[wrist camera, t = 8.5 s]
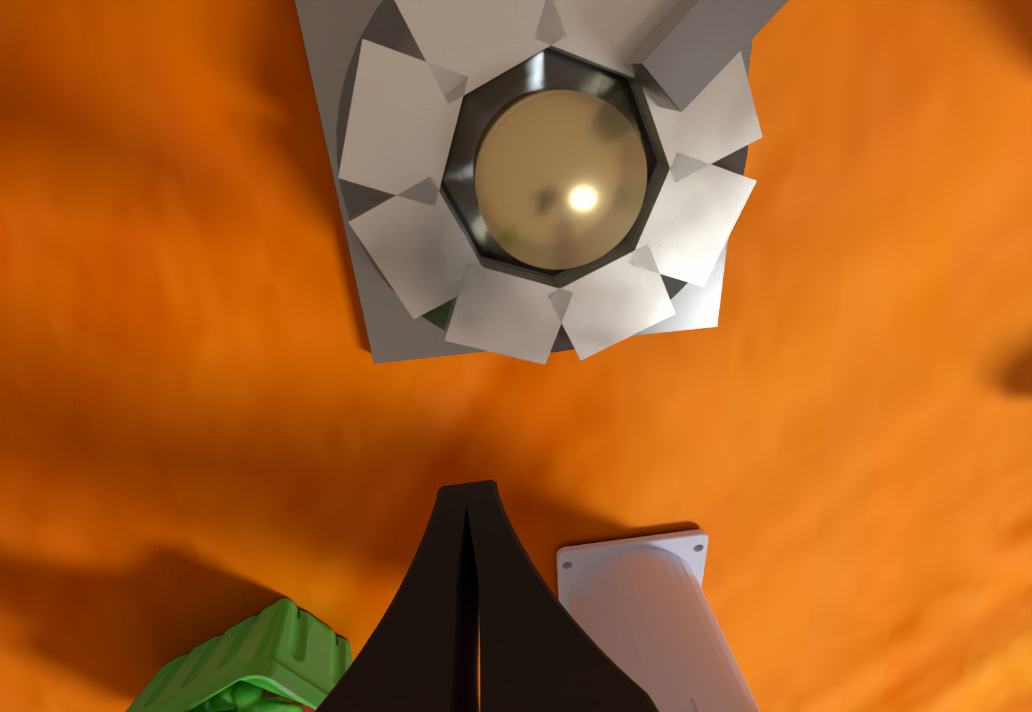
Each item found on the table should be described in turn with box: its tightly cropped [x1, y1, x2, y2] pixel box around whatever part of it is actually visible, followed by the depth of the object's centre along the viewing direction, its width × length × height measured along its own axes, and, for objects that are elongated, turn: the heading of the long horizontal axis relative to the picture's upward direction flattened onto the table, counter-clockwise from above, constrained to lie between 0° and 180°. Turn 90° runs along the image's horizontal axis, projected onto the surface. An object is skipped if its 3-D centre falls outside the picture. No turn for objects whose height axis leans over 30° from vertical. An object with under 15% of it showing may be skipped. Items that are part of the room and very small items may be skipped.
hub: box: [295, 0, 753, 363], centre depth 17 cm, size 14×14×5 cm
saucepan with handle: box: [338, 0, 788, 364], centre depth 15 cm, size 12×18×3 cm
